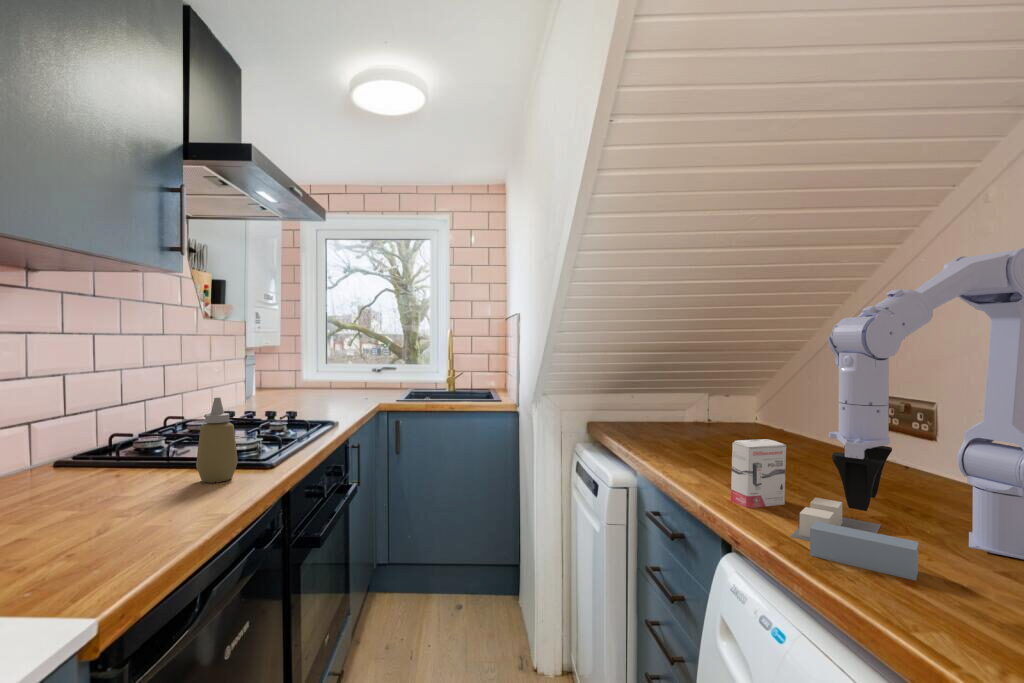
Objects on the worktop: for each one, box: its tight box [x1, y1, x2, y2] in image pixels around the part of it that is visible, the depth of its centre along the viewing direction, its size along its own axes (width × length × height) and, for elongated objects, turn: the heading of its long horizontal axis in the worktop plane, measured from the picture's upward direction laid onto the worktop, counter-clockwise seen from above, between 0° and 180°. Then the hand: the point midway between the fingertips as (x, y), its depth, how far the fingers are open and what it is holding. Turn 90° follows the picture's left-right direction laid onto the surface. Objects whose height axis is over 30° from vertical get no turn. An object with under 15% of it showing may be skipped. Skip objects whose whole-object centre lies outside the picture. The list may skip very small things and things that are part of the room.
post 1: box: [809, 497, 843, 526], centre depth 88 cm, size 4×4×4 cm
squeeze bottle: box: [195, 397, 239, 484], centre depth 115 cm, size 8×8×18 cm
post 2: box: [799, 506, 834, 538], centre depth 83 cm, size 4×4×4 cm
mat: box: [789, 516, 882, 542], centre depth 85 cm, size 10×16×1 cm, turn 139°
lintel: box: [809, 521, 919, 582], centre depth 72 cm, size 4×12×4 cm, turn 50°
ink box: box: [730, 438, 787, 509], centre depth 99 cm, size 9×5×12 cm, turn 106°
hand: (862, 502), depth 72 cm, fingers open, 7 cm apart
